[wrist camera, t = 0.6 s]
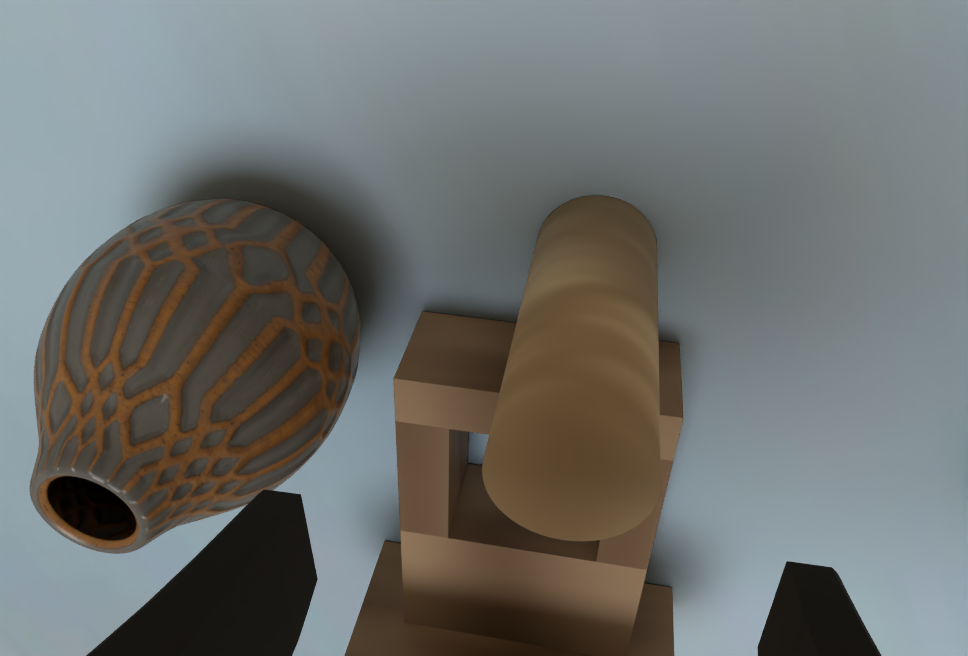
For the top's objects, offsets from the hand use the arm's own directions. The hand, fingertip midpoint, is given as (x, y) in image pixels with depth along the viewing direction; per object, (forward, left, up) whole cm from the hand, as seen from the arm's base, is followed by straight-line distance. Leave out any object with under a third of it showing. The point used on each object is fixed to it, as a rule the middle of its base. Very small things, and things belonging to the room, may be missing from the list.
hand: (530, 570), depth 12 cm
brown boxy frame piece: (+1, +8, -10) cm, 13 cm away
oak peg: (0, 0, -10) cm, 10 cm away
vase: (+8, +2, -10) cm, 13 cm away
